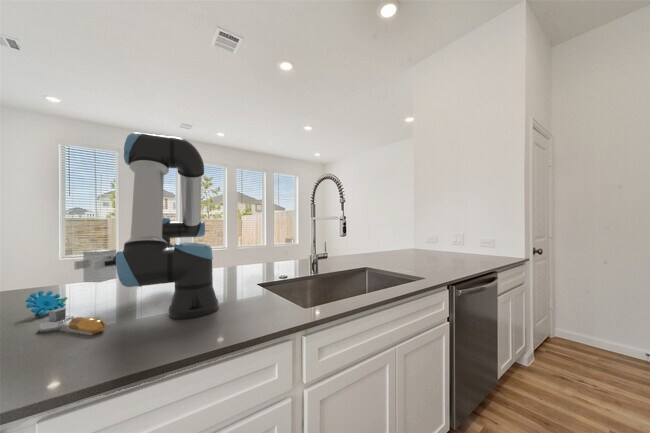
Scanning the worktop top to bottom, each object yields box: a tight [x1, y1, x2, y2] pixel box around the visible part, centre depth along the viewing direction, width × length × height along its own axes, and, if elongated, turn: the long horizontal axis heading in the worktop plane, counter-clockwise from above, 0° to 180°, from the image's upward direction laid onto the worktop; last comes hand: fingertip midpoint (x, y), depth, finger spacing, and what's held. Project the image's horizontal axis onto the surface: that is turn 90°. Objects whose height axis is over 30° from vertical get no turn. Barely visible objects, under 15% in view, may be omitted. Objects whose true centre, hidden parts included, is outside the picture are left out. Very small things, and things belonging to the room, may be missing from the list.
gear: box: [24, 290, 69, 316], centre depth 88 cm, size 11×6×10 cm
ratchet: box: [39, 308, 107, 336], centre depth 74 cm, size 22×7×5 cm, turn 74°
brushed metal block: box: [82, 249, 117, 283], centre depth 88 cm, size 6×6×10 cm
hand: (84, 265), depth 83 cm, fingers closed on brushed metal block, 6 cm apart
